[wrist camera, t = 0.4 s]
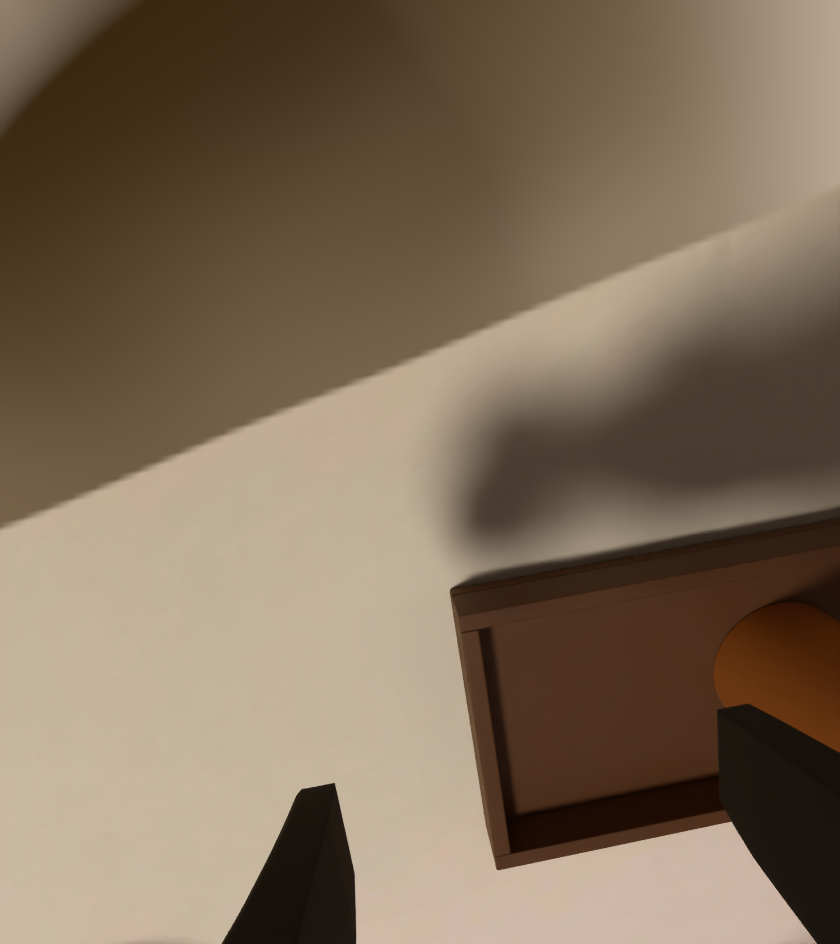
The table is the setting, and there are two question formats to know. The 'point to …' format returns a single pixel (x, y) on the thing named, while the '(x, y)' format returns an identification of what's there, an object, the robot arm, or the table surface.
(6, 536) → the table surface
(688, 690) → the tray
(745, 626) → the amber bottle middle
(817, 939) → the robot arm
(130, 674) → the table surface
